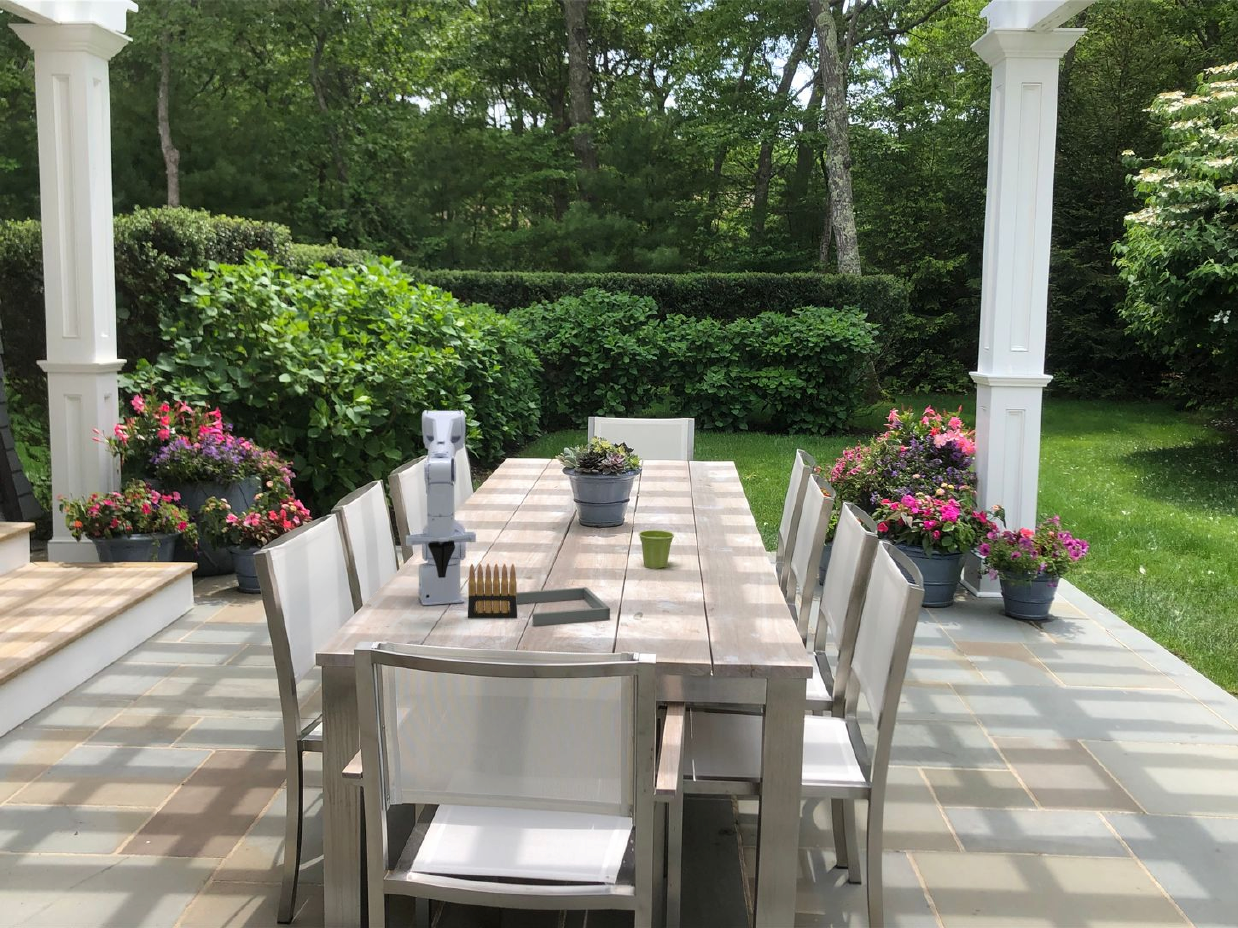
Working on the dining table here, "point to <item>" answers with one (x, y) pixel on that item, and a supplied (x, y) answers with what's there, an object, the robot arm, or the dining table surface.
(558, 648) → the dining table surface
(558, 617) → the frame
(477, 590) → the ammunition clip
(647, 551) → the plant pot
